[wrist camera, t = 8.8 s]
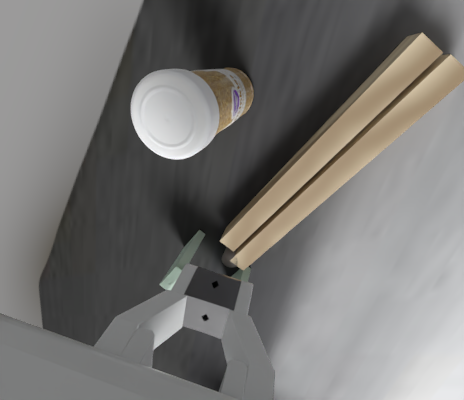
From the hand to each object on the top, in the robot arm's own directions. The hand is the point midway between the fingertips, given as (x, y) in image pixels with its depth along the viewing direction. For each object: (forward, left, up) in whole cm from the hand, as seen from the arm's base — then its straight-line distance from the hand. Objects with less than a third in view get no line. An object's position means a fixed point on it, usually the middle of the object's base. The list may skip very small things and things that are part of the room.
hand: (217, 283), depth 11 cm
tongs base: (-5, -1, -18) cm, 19 cm away
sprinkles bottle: (+7, -2, -18) cm, 20 cm away
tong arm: (-3, -2, -18) cm, 18 cm away
